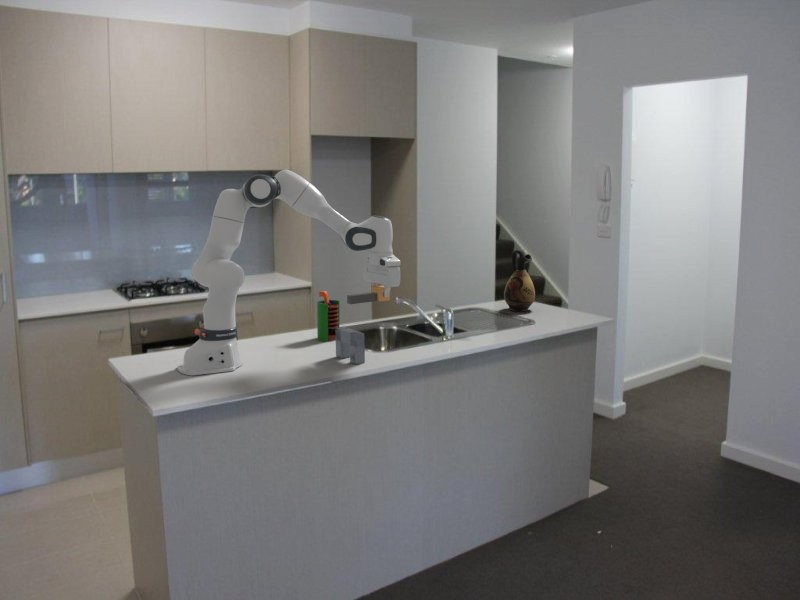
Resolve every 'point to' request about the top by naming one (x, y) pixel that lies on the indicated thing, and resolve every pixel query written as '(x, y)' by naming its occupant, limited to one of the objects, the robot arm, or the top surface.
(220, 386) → the top surface
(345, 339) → the grey u-shaped block
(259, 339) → the top surface
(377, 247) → the robot arm
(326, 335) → the motor
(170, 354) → the top surface
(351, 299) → the plug
